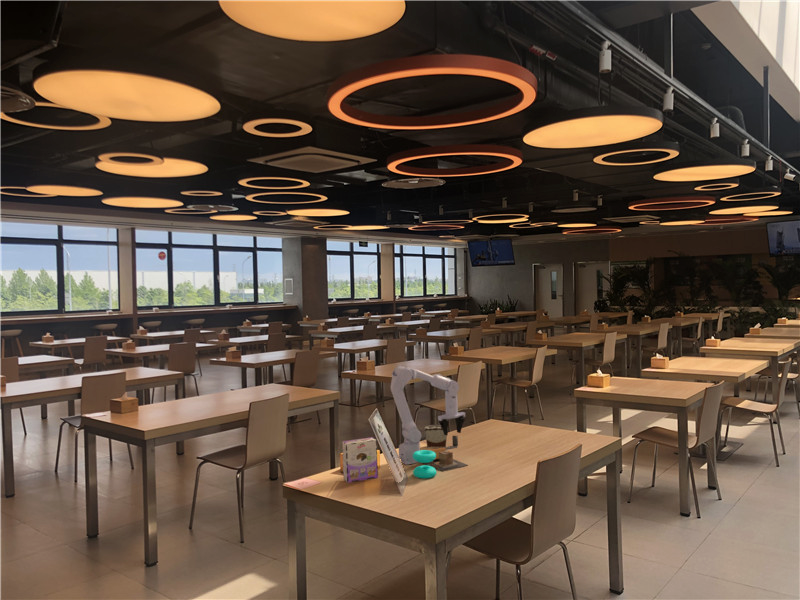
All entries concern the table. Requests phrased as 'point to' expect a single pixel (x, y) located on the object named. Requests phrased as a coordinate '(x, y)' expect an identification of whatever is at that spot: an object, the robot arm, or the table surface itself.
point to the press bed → (442, 467)
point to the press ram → (455, 444)
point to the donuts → (424, 470)
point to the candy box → (360, 459)
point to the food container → (435, 436)
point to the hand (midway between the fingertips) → (452, 433)
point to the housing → (445, 457)
